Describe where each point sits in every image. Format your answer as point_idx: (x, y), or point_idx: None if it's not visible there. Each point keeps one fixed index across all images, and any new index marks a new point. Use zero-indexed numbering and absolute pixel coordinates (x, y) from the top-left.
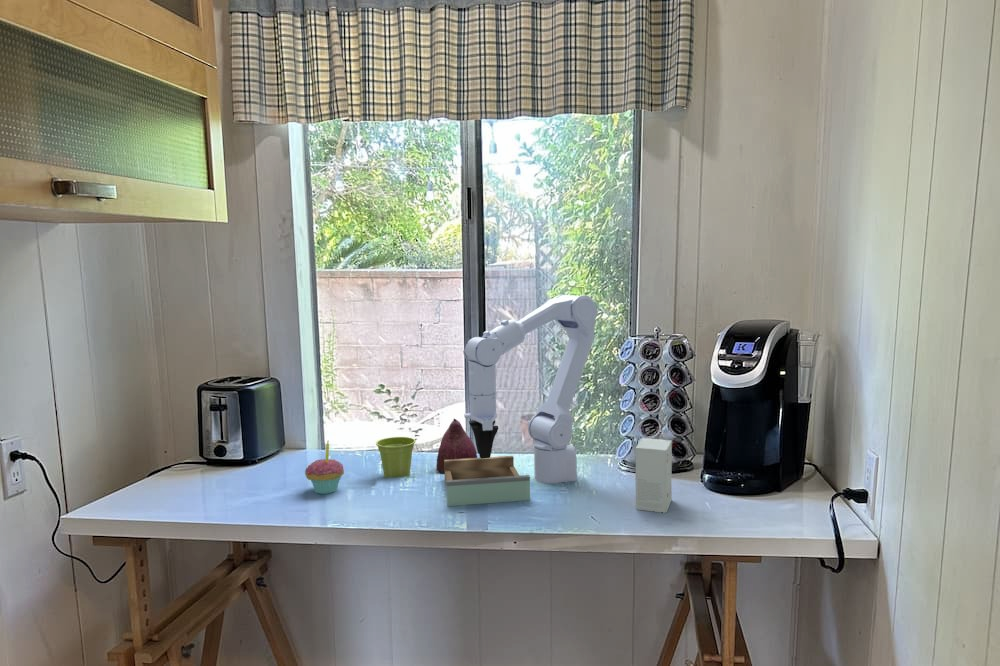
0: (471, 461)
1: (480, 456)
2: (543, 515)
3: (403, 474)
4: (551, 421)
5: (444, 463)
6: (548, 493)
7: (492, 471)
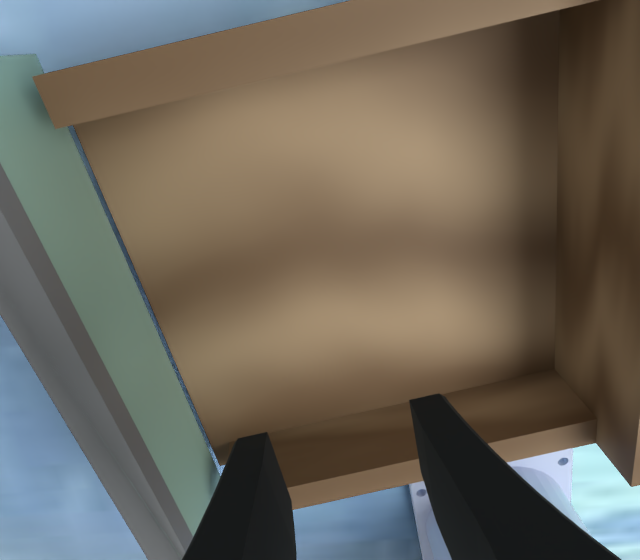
0: None
1: (231, 456)
2: (111, 509)
3: None
4: None
5: None
6: (372, 508)
7: (583, 316)
